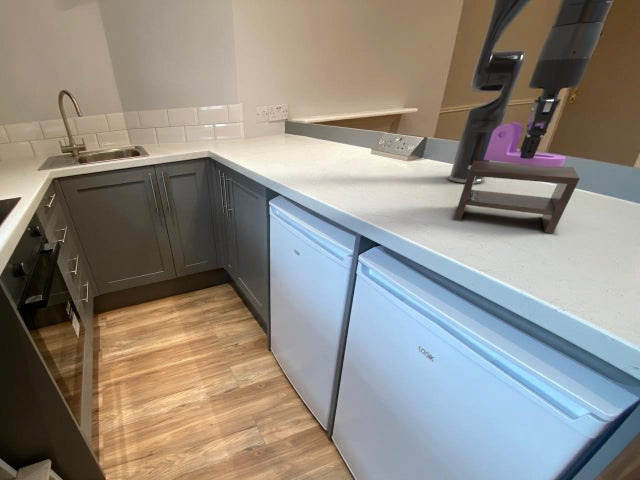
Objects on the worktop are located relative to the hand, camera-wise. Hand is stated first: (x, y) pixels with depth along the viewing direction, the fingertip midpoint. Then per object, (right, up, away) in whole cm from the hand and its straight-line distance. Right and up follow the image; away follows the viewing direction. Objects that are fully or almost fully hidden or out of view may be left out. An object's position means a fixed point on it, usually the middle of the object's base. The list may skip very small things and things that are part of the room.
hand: (525, 155), depth 70 cm
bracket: (0, -1, +1) cm, 1 cm away
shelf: (+1, -12, +7) cm, 14 cm away
